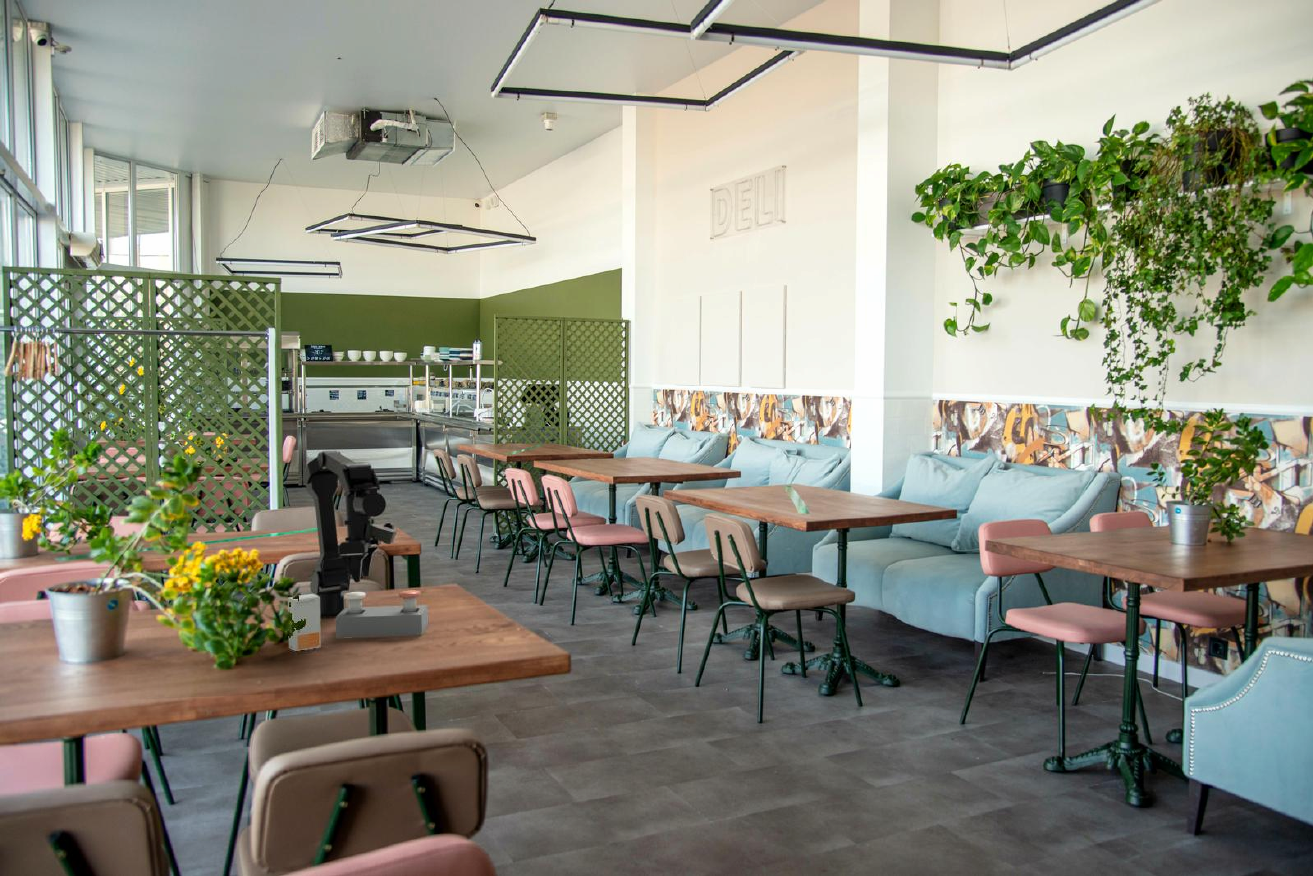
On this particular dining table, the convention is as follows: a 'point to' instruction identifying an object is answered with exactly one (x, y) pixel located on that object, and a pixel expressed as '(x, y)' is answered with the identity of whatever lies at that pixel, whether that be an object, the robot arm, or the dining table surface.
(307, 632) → the skincare box
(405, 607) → the red plunger
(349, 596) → the white plunger
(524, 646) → the dining table surface
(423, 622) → the block
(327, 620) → the dining table surface
